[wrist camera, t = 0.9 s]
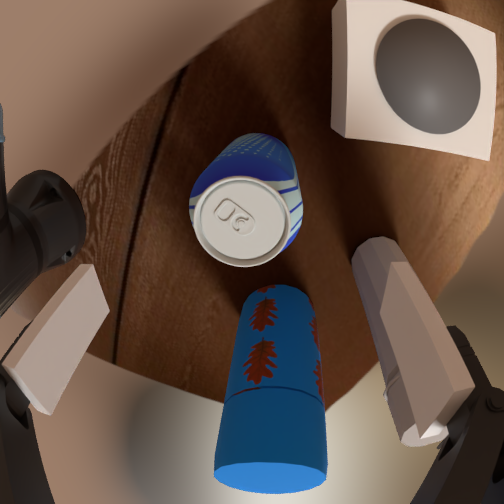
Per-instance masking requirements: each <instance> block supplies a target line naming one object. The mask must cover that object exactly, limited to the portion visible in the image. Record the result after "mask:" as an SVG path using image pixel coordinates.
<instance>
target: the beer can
mask: <svg viewBox="0 0 504 504" xmlns="http://www.w3.org/2000/svg"><path fill="white" fill-rule="evenodd" d="M189 213H190V218H191V222H192V225H193V228H194V230H195V233H196V236H197V238H198V240H199V242H200V244H201V245H202V246H203V248H204V249H205V250H206V251H207V252H208V253H209V254H210V255H211V256H213V257H214V258H216V259H217V260H219V261H221V262H223V263H226V264H229V265H233V266H238V267H251V266H256V265H260V264H263V263H265V262H267V261H269V260H271V259H272V258H274V257H275V256H276V255H277V254H278V253H280V252H281V251H283V250H284V249H285V248H286V247H287V246H288V245H289V244H290V243H291V242H292V241H293V239H294V238H295V236H296V235H297V233H298V231H299V228H300V225H301V222H302V216H303V204H302V197H301V192H300V187H299V181H298V176H297V171H296V166H295V162H294V158H293V156H292V154H291V152H290V150H289V149H288V148H287V147H286V145H285V144H283V143H282V142H281V141H280V140H278V139H277V138H275V137H273V136H270V135H267V134H262V133H251V134H246V135H243V136H241V137H239V138H237V139H235V140H234V141H232V142H231V143H230V144H229V145H228V146H227V147H226V148H225V149H224V150H223V151H222V152H221V153H220V154H219V155H218V157H217V158H216V159H215V160H214V161H213V162H212V163H211V164H210V165H209V166H208V167H207V168H206V169H205V170H204V171H203V172H202V174H201V175H200V176H199V177H198V179H197V181H196V182H195V184H194V186H193V189H192V192H191V195H190V201H189Z"/></svg>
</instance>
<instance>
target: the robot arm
mask: <svg viewBox="0 0 504 504" xmlns="http://www.w3.org/2000/svg"><path fill="white" fill-rule="evenodd" d="M4 141H5V137H4V135H3V110H2V106H1V104H0V318H1V316H2V315H3V314H4V313H5V312H6V311H7V309H8V308H9V307H10V306H11V305H12V304H13V303H14V301H15V300H16V299H17V298H18V297H19V296H20V295H21V294H22V292H23V291H24V290H25V289H26V288H27V287H28V286H29V285H30V284H31V283H32V282H33V281H34V279H35V278H36V277H37V276H39V275H40V274H41V273H43V272H46V271H48V270H51V269H54V268H56V267H59V266H61V265H64V264H66V263H67V262H69V261H70V260H71V259H72V258H73V257H74V256H75V255H76V254H77V253H78V252H79V251H80V250H81V248H82V246H83V244H84V241H85V236H86V222H85V216H84V212H83V209H82V206H81V203H80V201H79V199H78V197H77V195H76V194H75V192H74V190H73V189H72V188H71V186H70V185H69V184H68V183H67V182H66V181H65V180H64V179H63V178H62V177H60V176H59V175H57V174H55V173H53V172H51V171H47V170H37V171H34V172H32V173H30V174H28V175H26V176H24V177H22V178H21V179H20V180H19V181H18V182H17V183H16V184H15V185H14V186H13V188H12V189H11V190H10V191H9V193H8V194H7V195H6V186H5V171H4V146H3V142H4ZM108 313H109V308H108V305H107V303H106V300H105V297H104V295H103V292H102V289H101V286H100V283H99V281H98V278H97V275H96V272H95V269H94V266H93V264H80V265H79V267H78V268H77V269H76V270H75V271H74V272H73V273H72V274H71V276H70V277H69V278H68V279H67V280H66V281H65V283H64V284H63V285H62V286H61V287H60V288H59V290H58V291H57V292H56V293H55V294H54V296H53V297H52V298H51V299H50V300H49V302H48V303H47V304H46V305H45V306H44V308H43V309H42V310H41V311H40V313H39V314H38V315H37V317H36V318H35V319H34V320H33V321H32V322H30V323H29V324H28V325H27V326H25V327H24V329H23V330H22V331H21V333H20V334H19V337H17V338H16V339H15V341H14V343H13V344H12V345H11V346H10V348H9V349H8V350H7V352H6V353H5V355H4V356H3V357H2V359H1V360H0V504H55V502H54V499H53V496H52V494H51V490H50V488H49V484H48V481H47V478H46V474H45V471H44V467H43V464H42V460H41V456H40V452H39V448H38V443H37V439H36V435H35V429H34V424H33V419H32V413H31V411H30V409H29V408H28V405H29V404H30V402H31V403H32V404H33V406H34V407H35V408H36V409H37V410H38V411H39V412H42V413H45V414H48V415H50V416H51V415H52V413H53V411H54V409H55V407H56V405H57V403H58V401H59V399H60V397H61V395H62V393H63V391H64V389H65V387H66V385H67V384H68V382H69V380H70V378H71V376H72V374H73V373H74V371H75V369H76V367H77V365H78V363H79V362H80V360H81V358H82V356H83V355H84V353H85V351H86V349H87V348H88V346H89V344H90V342H91V341H92V339H93V337H94V336H95V334H96V332H97V331H98V329H99V327H100V326H101V324H102V322H103V321H104V319H105V317H106V316H107V314H108ZM380 316H381V318H382V321H383V324H384V326H385V329H386V332H387V335H388V337H389V340H390V343H391V346H392V349H393V352H394V354H395V357H396V360H397V363H398V366H399V369H400V372H401V376H402V379H403V382H404V385H405V388H406V392H407V395H408V398H409V401H410V405H411V408H412V412H413V415H414V419H415V423H416V426H417V430H418V434H419V438H420V439H422V438H426V437H430V436H435V435H439V434H440V433H441V431H442V430H443V429H444V428H445V427H446V426H447V429H448V433H449V434H448V435H447V436H446V437H445V439H444V440H443V441H442V442H441V443H440V444H439V445H438V447H437V449H440V448H441V449H440V451H439V453H438V455H437V457H436V459H435V461H434V463H433V465H432V467H431V468H430V470H429V472H428V474H427V476H426V478H425V480H424V481H423V483H422V485H421V486H420V488H419V490H418V491H417V493H416V495H415V496H414V498H413V500H412V501H411V503H410V504H504V391H502V390H501V389H499V388H495V387H492V386H491V384H490V382H489V380H488V378H487V376H486V374H485V372H484V370H483V368H482V366H481V364H480V362H479V360H478V358H477V356H476V355H475V352H474V351H473V349H472V347H470V343H469V341H468V340H467V338H466V336H465V335H464V333H463V332H461V331H460V330H459V329H458V328H457V327H456V326H448V327H446V326H445V324H444V323H443V321H442V319H441V317H440V315H439V314H438V312H437V310H436V308H435V307H434V305H433V303H432V301H431V300H430V298H429V296H428V295H427V293H426V291H425V290H424V288H423V286H422V285H421V283H420V281H419V280H418V278H417V277H416V275H415V273H414V272H413V270H412V269H411V267H410V265H409V264H408V262H391V264H390V269H389V274H388V279H387V284H386V288H385V293H384V297H383V301H382V305H381V309H380Z"/></svg>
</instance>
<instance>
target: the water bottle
mask: <svg viewBox="0 0 504 504" xmlns="http://www.w3.org/2000/svg"><path fill="white" fill-rule="evenodd" d="M351 260H352V272H353V275H354V278H355V281H356V284H357V287H358V290H359V293H360V296H361V299H362V302H363V306H364V309H365V312H366V315H367V319H368V322H369V326H370V329H371V332H372V336H373V339H374V343H375V347H376V350H377V354H378V358H379V361H380V365H381V369H382V373H383V377H384V380H385V385H386V389H385V391H384V394H383V396H384V398H385V400H386V401H387V402H388V405H389V408H390V411H391V414H392V417H393V420H394V423H395V426H396V429H397V432H398V435H399V438H400V441H401V442H402V443H403V444H405V445H406V446H408V447H410V446H424V445H428V444H431V443H434V442H438V441H441V440H443V439H445V437H446V436H447V435H448V434H449V433H448V429H447V426H446V427H445V428H444V429H443V430H442V431H441V433H440V434H439V435H435V436H430V437H426V438H422V439H420V438H419V434H418V430H417V426H416V423H415V419H414V415H413V412H412V408H411V405H410V401H409V398H408V395H407V392H406V388H405V385H404V382H403V379H402V376H401V372H400V369H399V366H398V363H397V360H396V357H395V354H394V352H393V349H392V346H391V343H390V340H389V337H388V335H387V332H386V329H385V326H384V324H383V321H382V318H381V316H380V309H381V305H382V301H383V297H384V293H385V288H386V284H387V279H388V274H389V269H390V264H391V262H408V260H407V259H406V257H405V255H404V254H403V252H402V251H401V249H400V248H399V246H398V245H397V243H396V242H395V241H394V240H391V239H389V238H386V237H383V236H382V237H376V238H370V239H368V240H367V241H365V242H364V243H363V244H361V245H360V246H359V247H357V249H356V251H355V253H354V255H353V257H352V259H351ZM408 264H409V265H410V263H409V262H408ZM410 267H411V265H410ZM411 269H412V270H413V268H412V267H411ZM413 272H414V270H413ZM414 273H415V272H414ZM415 275H416V273H415ZM416 277H417V278H418V276H417V275H416ZM418 280H419V278H418ZM419 281H420V280H419ZM420 283H421V282H420ZM421 285H422V283H421ZM422 286H423V285H422ZM423 288H424V287H423ZM424 290H425V288H424ZM425 291H426V290H425ZM426 293H427V292H426ZM427 295H428V294H427ZM428 296H429V295H428ZM429 298H430V297H429ZM430 300H431V299H430ZM432 303H433V302H432ZM433 305H434V304H433ZM434 307H435V306H434ZM437 312H438V311H437ZM438 314H439V313H438Z"/></svg>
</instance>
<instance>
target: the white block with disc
mask: <svg viewBox="0 0 504 504" xmlns="http://www.w3.org/2000/svg"><path fill="white" fill-rule="evenodd" d="M495 101H496V41H495V33H493V32H491V31H489V30H486V29H484V28H482V27H480V26H477V25H475V24H473V23H470V22H468V21H465V20H463V19H460V18H457V17H455V16H452V15H449V14H446V13H444V12H441V11H438V10H435V9H431V8H428V7H425V6H422V5H418V4H415V3H411V2H407V1H404V0H338V2H337V3H336V5H335V6H334V8H333V9H332V106H331V128H332V129H333V130H335V131H336V132H337V133H339V134H340V135H342V136H343V137H344V138H352V139H362V140H371V141H380V142H388V143H395V144H402V145H409V146H415V147H422V148H428V149H433V150H439V151H444V152H449V153H454V154H459V155H464V156H469V157H473V158H477V159H482V160H486V161H489V158H490V151H491V144H492V136H493V127H494V116H495Z"/></svg>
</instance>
